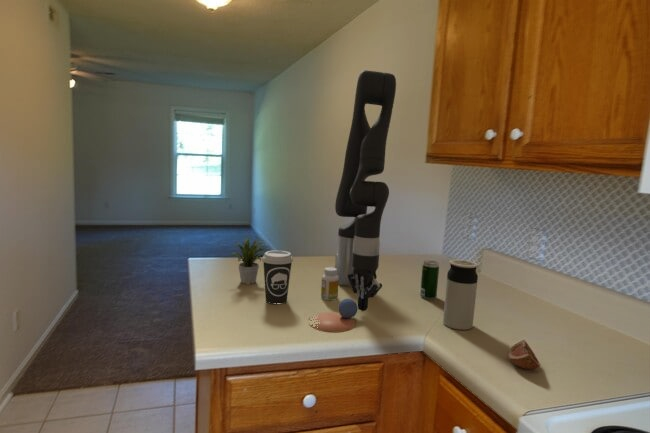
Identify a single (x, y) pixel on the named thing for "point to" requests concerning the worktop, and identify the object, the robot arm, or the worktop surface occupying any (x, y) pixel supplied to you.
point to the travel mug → (460, 294)
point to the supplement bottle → (329, 284)
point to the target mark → (333, 322)
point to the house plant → (249, 261)
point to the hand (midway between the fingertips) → (362, 309)
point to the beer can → (429, 279)
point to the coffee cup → (277, 275)
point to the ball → (347, 308)
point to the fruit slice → (523, 355)
